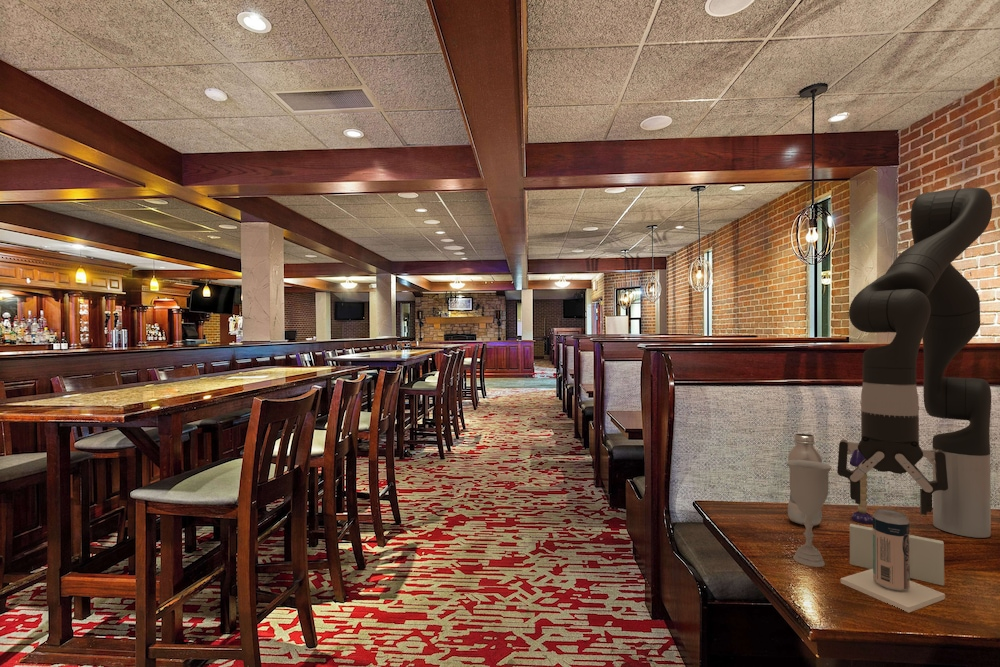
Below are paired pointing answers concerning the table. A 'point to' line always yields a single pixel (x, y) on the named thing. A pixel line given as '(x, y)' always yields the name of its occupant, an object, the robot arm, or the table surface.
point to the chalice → (809, 502)
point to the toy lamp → (862, 509)
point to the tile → (894, 592)
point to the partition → (921, 552)
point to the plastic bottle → (808, 453)
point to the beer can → (891, 550)
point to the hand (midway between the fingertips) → (889, 508)
